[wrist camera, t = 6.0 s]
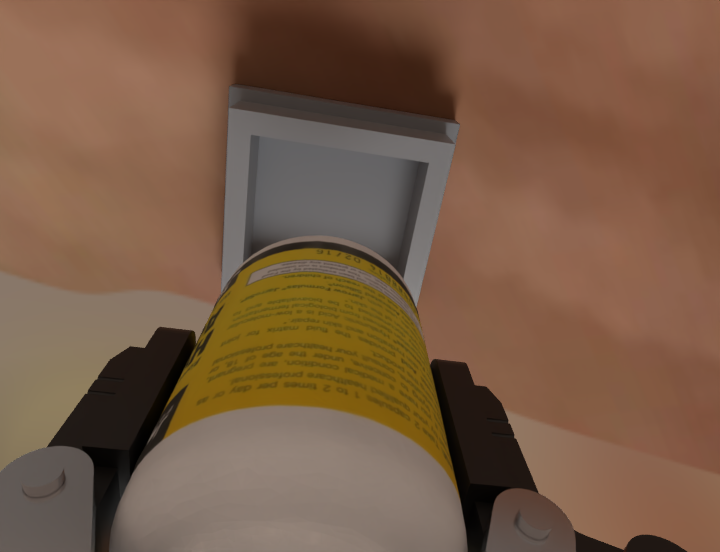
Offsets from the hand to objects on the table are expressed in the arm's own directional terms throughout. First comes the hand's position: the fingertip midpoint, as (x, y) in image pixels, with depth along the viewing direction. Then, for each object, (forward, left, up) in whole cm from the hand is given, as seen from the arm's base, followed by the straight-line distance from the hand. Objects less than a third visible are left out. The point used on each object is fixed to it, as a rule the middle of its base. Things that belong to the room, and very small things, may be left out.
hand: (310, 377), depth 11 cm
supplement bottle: (0, 0, -3) cm, 3 cm away
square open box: (0, 0, -12) cm, 12 cm away
